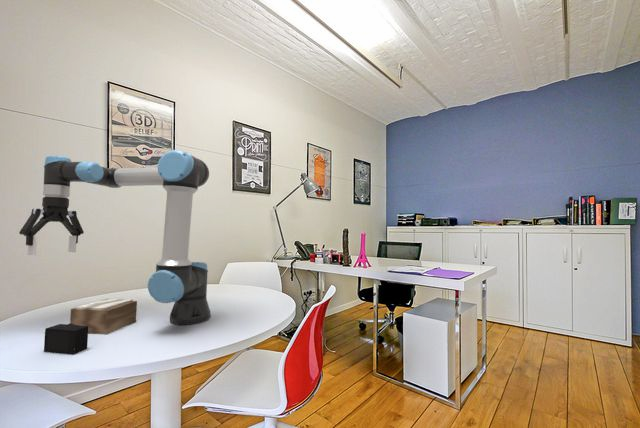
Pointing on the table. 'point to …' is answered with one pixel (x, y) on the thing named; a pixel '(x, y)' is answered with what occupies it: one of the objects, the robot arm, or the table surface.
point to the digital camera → (66, 339)
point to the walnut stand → (105, 315)
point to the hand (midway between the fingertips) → (53, 253)
